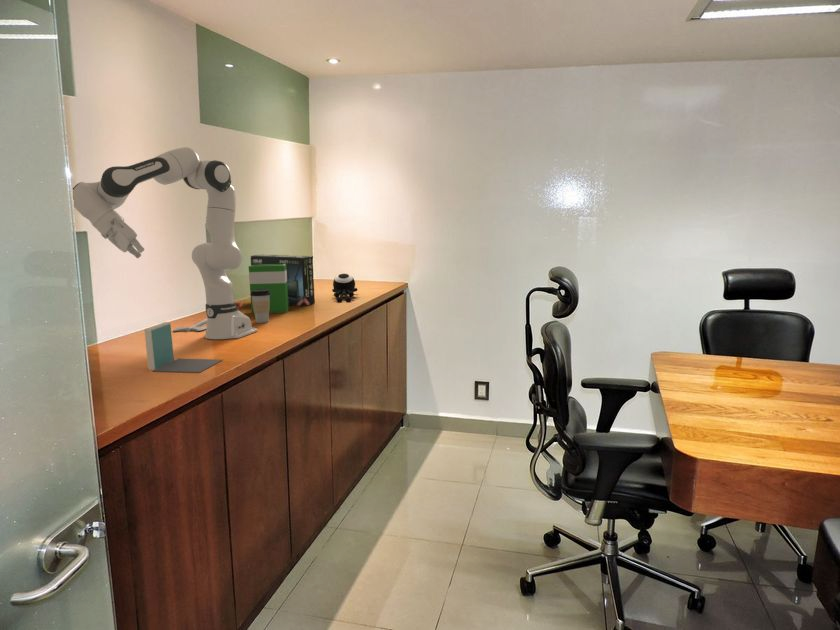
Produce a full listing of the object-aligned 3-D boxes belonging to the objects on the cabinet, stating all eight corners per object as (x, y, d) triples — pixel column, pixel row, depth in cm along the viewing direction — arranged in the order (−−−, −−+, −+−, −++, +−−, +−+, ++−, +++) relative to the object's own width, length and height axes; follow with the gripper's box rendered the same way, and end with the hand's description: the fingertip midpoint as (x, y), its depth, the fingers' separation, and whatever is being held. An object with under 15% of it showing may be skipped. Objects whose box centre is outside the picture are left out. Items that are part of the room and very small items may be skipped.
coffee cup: (257, 324, 278) (255, 292, 275) (248, 321, 285) (246, 290, 282) (276, 321, 284) (274, 290, 281) (266, 319, 291) (264, 288, 288)
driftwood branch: (197, 320, 293) (197, 315, 293) (225, 320, 293) (225, 315, 293) (170, 333, 264) (170, 328, 264) (202, 333, 264) (201, 328, 263)
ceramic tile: (148, 369, 204) (144, 329, 202) (168, 360, 216) (164, 322, 213) (155, 370, 204) (151, 329, 201) (174, 360, 216) (171, 322, 213)
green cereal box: (251, 313, 308) (248, 266, 303) (254, 310, 315) (251, 264, 310) (286, 312, 309) (284, 265, 304) (288, 309, 316) (286, 263, 312)
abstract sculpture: (329, 291, 332) (330, 266, 360) (331, 321, 342) (332, 293, 369) (357, 290, 334) (356, 265, 361) (358, 319, 343) (357, 292, 371)
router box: (251, 303, 339) (248, 255, 334) (264, 300, 349) (261, 253, 344) (305, 306, 325) (302, 256, 320) (316, 303, 335) (314, 255, 330)
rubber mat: (152, 371, 202) (152, 370, 202) (178, 359, 217) (178, 358, 217) (199, 372, 199) (199, 371, 199) (222, 360, 215) (222, 359, 215)
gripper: (120, 210, 201) (151, 242, 205) (115, 225, 218) (144, 254, 222) (104, 222, 198) (137, 253, 202) (101, 236, 216) (131, 265, 220)
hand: (141, 254), depth 212 cm, fingers open, 8 cm apart
